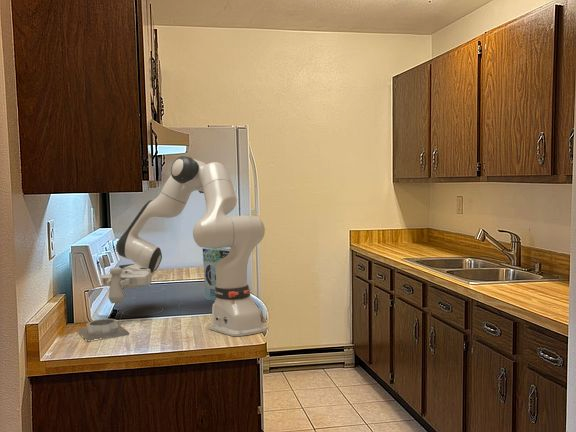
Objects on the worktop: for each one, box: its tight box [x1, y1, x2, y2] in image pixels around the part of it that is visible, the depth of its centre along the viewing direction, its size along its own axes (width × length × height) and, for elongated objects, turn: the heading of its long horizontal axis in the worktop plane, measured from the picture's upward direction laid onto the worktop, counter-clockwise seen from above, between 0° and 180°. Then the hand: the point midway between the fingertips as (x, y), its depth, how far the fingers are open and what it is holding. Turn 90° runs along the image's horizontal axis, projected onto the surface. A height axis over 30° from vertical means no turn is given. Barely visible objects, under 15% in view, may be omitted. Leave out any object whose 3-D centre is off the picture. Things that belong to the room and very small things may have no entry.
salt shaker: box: [108, 266, 126, 304], centre depth 206 cm, size 6×6×13 cm
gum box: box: [201, 247, 231, 302], centre depth 237 cm, size 20×5×23 cm, turn 43°
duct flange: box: [76, 318, 130, 341], centre depth 194 cm, size 16×14×4 cm
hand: (114, 283), depth 205 cm, fingers closed on salt shaker, 3 cm apart
